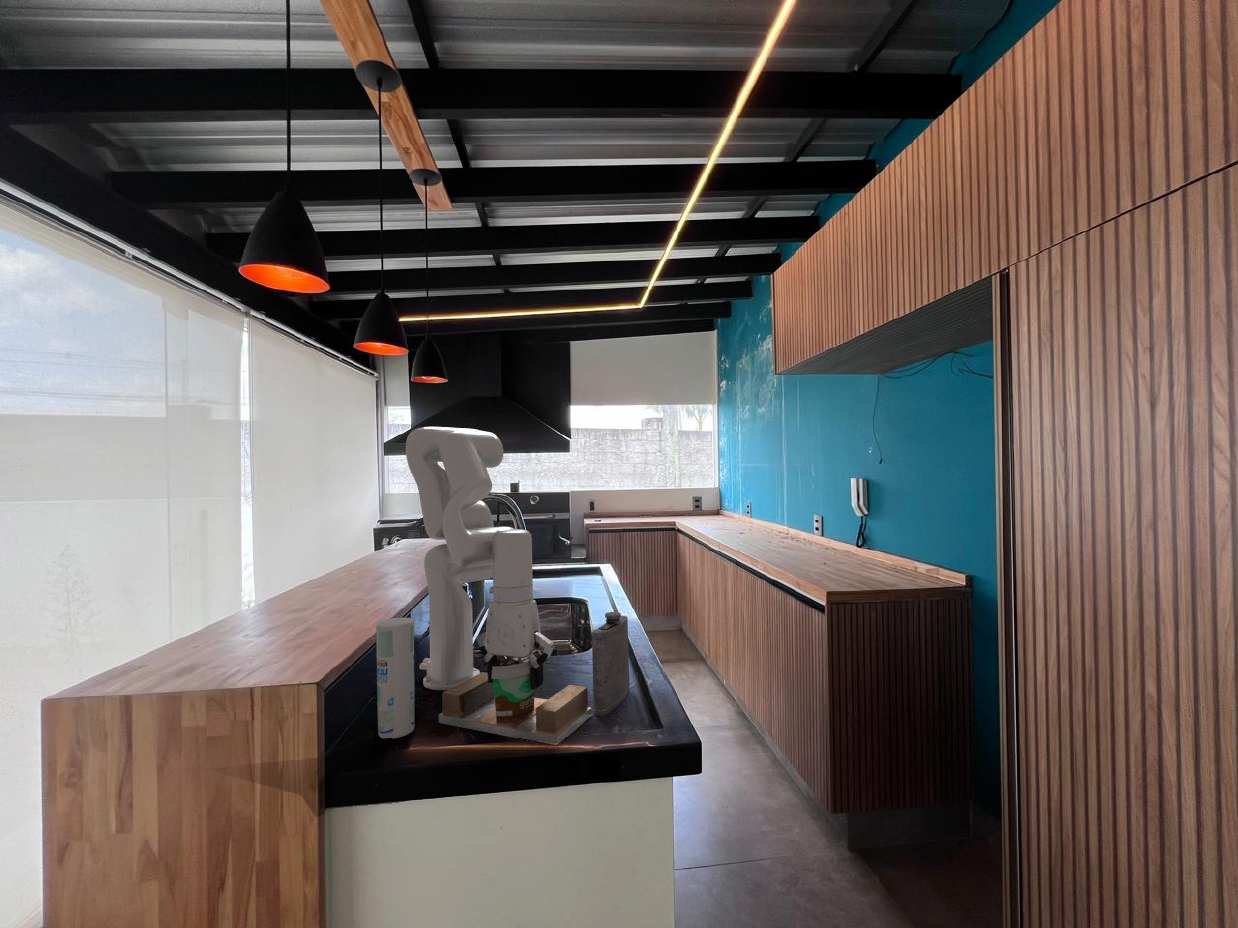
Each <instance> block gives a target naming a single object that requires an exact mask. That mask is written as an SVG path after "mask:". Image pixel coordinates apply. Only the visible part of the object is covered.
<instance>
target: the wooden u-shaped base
mask: <svg viewBox="0 0 1238 928" xmlns="http://www.w3.org/2000/svg"><path fill="white" fill-rule="evenodd" d="M441 695H442V696H441V699H442V702H441V703H442V708H441V709H442V710H441V711H442V712H441V713H439V714H438V723H439V724H444V725H448V726H454V727H459V728H464V729H469V730H475V731H479V732H483V733H484V732H485V733H489V734H495V735H499V736H504V737H508V738H514V739H518V738H523V739H533V740H540V741H546V742H552V743H558V742H559V741H561V740H562V739H564V738H565V737H567V738H568V737H569V736H570V735H571V734H573V733H574V732H575V731H576V730H577V729H579V727H581V726H582V725H583V724H584V723H585V722H587V720H588V719H589V718H591V717H592V707H589V700H588V695H589V694H588V687H587V686H581V685H574V684H568V685H566V686H565V687H564V688H562V689H560V690H559V691H558V692H556V693H555V694H554V695H552V696H551V697H549V698H548V699H545V698H540V697H539V698H538V697H535V698H534V710H533V711H532V712H531V713H529V714H528V715H526V716H523V717H520V718H516V719H511V720H496V707H495V695H494V682H493V683H488V672H485V671H483V672H482V671H481V672H480V674H478V675H476V676H474V677H472V678H470V679H468V680H466V681H464V682H462V683H460V684H458V685H456V686H454V687H453V688H451V689H449V690H444V691H443V692H442V694H441ZM523 739H522V740H523Z"/></svg>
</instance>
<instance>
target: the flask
mask: <svg viewBox="0 0 1238 928" xmlns="http://www.w3.org/2000/svg"><path fill="white" fill-rule="evenodd" d="M604 618H605V623H603V624H602V625H601V626H599V627H597V628H596V629H592V630H591V650H592V651H591V653H592V656H591V657H592V658H591V659H592V690H593V691H592V693H593V695H592V699H593V715H595V716H602V717H603V716H605V715H608V714H609V713H611V712H613V711H614V710H615V709H616V708H618V707H619V706H620V705H621V704H622V703H623V702H624V701H625V700H626V698H627V697H628V695H629V694H630V690H631V689H630V664H629V663H630V660H629V657H630V656H629V625H628V624H629V622H628V621H629V619H628V616H627V615H622V614H621V612H619V611H609V612H605V613H604Z"/></svg>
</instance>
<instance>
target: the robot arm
mask: <svg viewBox="0 0 1238 928" xmlns="http://www.w3.org/2000/svg"><path fill="white" fill-rule="evenodd" d="M405 457H406V460H407V461H406V462H407V465H408V468H409V471H410V473H411V475H412V477H413V479H414V482H415V484H416V486H417V490H418V495H419V502H420V503H419V504H420V507H421V508H420V509H421V514H422V518H423V519H422V520H423V524H424V529H425V532H426V534H427V536H428V537H429V538H430V539H432V540H436V541H444V540H445V542H446V543H443V544H439V545H436V546H433V547H431V548H430V549H429V550H428V551H427V553H426V554H425V556H424V559H423V561H424V563H423V568H424V572H425V578H426V584H427V591H428V605H429V606H428V608H429V609H428V610H429V615H428V616H429V658H428V657H425V658H424V659H423V660H422V663H420V664H419V670H424V671H425V670H426V675H425V676H424V677H423V681H422V684H423V686H424V687H425V688H426V689H429V690H434V691H447V690H449V689H451V688H453V687H454V686H456V685H458V684H460V683H462V682H464V681H466V680H468V679H470V678H472V677H474V676H476V675H478V674H480V673H481V672H480V670H479V669H478V668H475V667H474V645H473V644H474V641H473V640H474V638H473V637H474V636H473V635H474V634H473V633H474V632H473V629H474V628H473V604H472V600H471V597H470V595H469V594H468V593H467V592H466V591H465V589H464V588H463V586H462V584H463V585H464V584H466V583H467V584H468V583H472V582H478V581H484V580H490V579H492V582H493V583H492V586H490V587H489V594H492V597H493V600H491V601H490V602H489V605H488V608H487V609H488V610H487V616H486V623H485V624H486V626H485V632H482V633H481V634H479V635H477V636H476V638H475V640H476V642H477V644H478V647H479V651H480V653H481V654H482V655H483V658H484V660H483V661H485V662H486V663H487V664H486V665H487V673H488V683H493V679H491V676H492V670H493V666H494V667H501V666H502V664H501V658H500V657H507V658H513V657H514V658H526V657H527V658H528V660H529V661H530V663H531V664H532V666H533V667H532V668H531V669H530V687H531V689H532V690H535V691H536V689H538V688H540V687H541V686H542V685H543V682H544V664H546V662H547V661H548V660H549V659H550V658H551V657H552V653H553V651H554V648H555V646H556V645H555V643H554V642H553V641H552V640H551V639H549V638H548V637H547V636H545V635H543V634H542V633H541V623H540V622H541V621H540V614H539V609H538V606H537V601H536V600H535V599H534V583H533V581H534V580H533V542H532V541H533V539H532V534H531V532H530V531H529V530H526V529H519V528H517V529H515V528H513V527H511V526H495V525H494V520H493V517H492V516H493V515H492V513H491V510H490V508H489V506H488V504H487V503H485V502H484V501H483V500H484V499H485V498H486V497H487V496H489V494H490V493H491V491H492V489H493V482H492V479H491V477H490V475H489V472H488V469H493V468H494V469H495V468H496V467H499V466H500V465H501V463H502V462H503V459H504V446H503V444H502V441H501V440H500V438H499V437H498V436H497V435H496V434H494V433H493V432H489V431H484V430H479V429H474V428H461V427H460V428H459V427H445V426H444V427H443V426H442V427H441V426H422V427H418V428H416V429H413V430H412V431H410V433H409V434H408V435H407V438H406V442H405ZM439 463H442V464H443V467H442V466H441V465H440V464H439ZM541 648H543V652H541V651H540V650H541ZM534 655H535V656H534ZM499 656H500V657H499ZM536 658H537V659H536Z"/></svg>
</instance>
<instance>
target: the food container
mask: <svg viewBox="0 0 1238 928" xmlns="http://www.w3.org/2000/svg"><path fill="white" fill-rule="evenodd" d="M534 656H535V655H534ZM536 659H537V658H536ZM532 667H533V666H532V664H531V663H530V661H529V660H528V658H527V657H526V658H514V657H509V659H507V660H506V661H504V662H503V664H501V667H494V666H493V670H492V676H491V679H493V682H494V695H495V707H496V720H511V719H516V718H520V717H523V716H526V715H528V714H529V713H531V712H532V711H533V710H534V698H536V697H535V695H536V689H535V690H532V689H531V687H530V669H531V668H532Z"/></svg>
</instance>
